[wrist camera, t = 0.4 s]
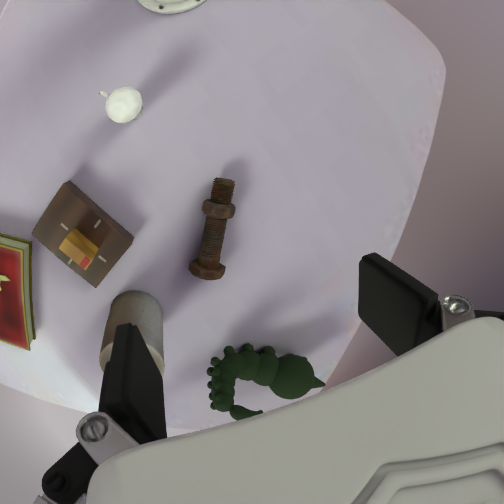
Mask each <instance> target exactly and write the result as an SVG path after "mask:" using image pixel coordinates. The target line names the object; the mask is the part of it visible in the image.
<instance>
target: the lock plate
mask: <svg viewBox="0 0 504 504" xmlns="http://www.w3.org/2000/svg"><path fill="white" fill-rule="evenodd" d="M74 228H76V229H77V230H78V231H79V232H80V233H81V234H83V235H84V236H85V237H86V238H87V239H88V240H90V241H91V242H92V243H93V244H94V245H96V246H97V247H98V248H99V249H98V251H97V253H96V255H95V257H94V259H93V260H92V262H91V263H90V264H89V266H88V267H87V269H86V270H84V269H83V268H82V267H80V266H79V265H78V264H77V263H76V262H74V261H73V260H72V259H71V258H70V257H68V256H67V255H66V254H65V253H64V252H63V251H61V250H60V249H59V247H60V245H61V244H62V242H63V241H64V239H65V238H66V237H67V236H68V235H69V233H70V232H71V231H72V230H73V229H74ZM32 235H33V236H35V237H36V238H37V239H38V240H39V241H40V242H41V243H42V244H43V245H44V246H46V247H47V248H48V249H49V250H50V251H51V252H52V253H54V254H55V255H56V256H57V257H58V258H59V259H61V260H62V261H63V262H64V263H65V264H67V265H68V266H69V267H70V268H71V269H73V270H74V271H75V272H76V273H78V274H79V275H80V276H81V277H83V278H84V279H85V280H86V281H88V282H89V283H90V284H91V285H93V286H94V287H95V288H96V287H97V286H98V285H99V284H100V282H101V281H102V280H103V279H104V277H105V276H106V275H107V273H108V272H109V271H110V270H111V268H112V267H113V266H114V265H115V264H116V262H117V261H118V260H119V259H120V257H121V256H122V255H123V254H124V253H125V251H126V250H127V249H128V248H129V247H130V246H131V244H132V242H133V239H134V237H133V236H132V235H131V234H130V233H129V232H128V231H126V230H125V229H124V228H123V227H122V226H121V225H119V224H118V223H117V222H116V221H115V220H114V219H112V218H111V217H110V216H109V215H108V214H107V213H106V212H104V211H103V210H102V209H101V208H100V207H99V206H98V205H97V204H95V203H94V202H93V201H92V200H91V199H90V198H89V197H88V196H87V195H85V194H84V193H83V192H82V191H81V190H80V189H79V188H78V187H77V186H76V185H75V184H73V183H72V182H71V181H68V182H66V183H64V184H63V185H62V187H61V188H60V190H59V191H58V192H57V194H56V195H55V197H54V198H53V200H52V201H51V203H50V204H49V206H48V208H47V209H46V211H45V212H44V214H43V215H42V217H41V219H40V220H39V222H38V224H37V225H36V227H35V229H34V230H33V232H32Z"/></svg>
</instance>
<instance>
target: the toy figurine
mask: <svg viewBox="0 0 504 504" xmlns="http://www.w3.org/2000/svg"><path fill="white" fill-rule="evenodd" d="M243 350H244V351H242V352H239V353H234V351H235V350H234V349H233V347H232V346H226V347H225V349H224V353H225V355H226V356H225V357H224V358H223V359H222V360H221V361H220V359H219V358H217V357H213V358H212V359H211V364H212V365H213V366H214V368H213V367H210V368H208V369H207V374H208V375H209V376H212V379H211V381H209V382H208V384H207V386H208V388H210V389H212V390H211V393H210V394H209V398H210V400H213V402H212V403H211V406H210V407H211V408H212V409H213V410H215V409H217V410H218V411H221V412H226V411H229V412H230V415H231V416H232V417H233V419H235V420H237V421H238V420H242V419H245V418H249V417H252V416H255V415H258V414H262V413H263V411H262V410H259V411H251V410H249V409H246V408H245V407H243V406H240V405H234V399H233V397H234V394H235V390H234V386H235V379H236V378H240V379H242V380H247V381H249V380H253V381H254V382H255V383H257V384H259V385H262V386H269V387H270V389H271V390H272V391H273V392H274V393H275V394H276V395H277V396H279V397H281V398H284V399H296V398H299V397H302V396H304V395H305V394H306V393H307V392H308V391H309V390H310V389H312V388H318V387H324V386H325V383H324V382H322V381H321V380H319V379H318V378H316V377H315V376H314V371H313V368H312V366H311V364H310V363H309V362H308V361H307V358H306V357H301V356H298V355H294V354H287V355H285V356H282V357H280V358H278V357H277V356H275V355H274V354H275V350H274V348H273V347H271V346H266V347H265V348H264V349H263V351H262V354H259V355H258V354H257V353H256V352H253V345H251V344H249V343H248V344H245V345H244V347H243Z"/></svg>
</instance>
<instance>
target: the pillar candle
mask: <svg viewBox="0 0 504 504" xmlns="http://www.w3.org/2000/svg"><path fill="white" fill-rule="evenodd" d="M125 323H131V324H132V325H137V326H138V328H139V330H140V333H141V335H142V337H143V339H144V341H145V343H146V345H147V347H148V349H149V351H150V353H151V355H152V357H153V359H154V361H155V363H156V365H157V367H158V369H159V371H160V373H161V375H162V376H163V373H164V367H165V365H164V351H163V316H162V310H161V307H160V305H159V304H158V302H157V301H156V300H155V299H154V298H153V297H152V296H151V295H149V294H147V293H144V292H142V291H127V292H124V293H122V294H120V295H118V296H117V297H116V298H115V299H114V300H113V302H112V305H111V310H110V313H109V316H108V320H107V324H106V328H105V333H104V337H103V341H102V346H101V351H100V357H99V358H100V366H101V368H102V370H103V372H104V369H105V364H106V362H107V361H110V357H111V352H112V346H113V341H114V336H115V331H116V327H117V325H121V324H125Z"/></svg>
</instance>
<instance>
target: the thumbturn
mask: <svg viewBox="0 0 504 504" xmlns="http://www.w3.org/2000/svg"><path fill="white" fill-rule="evenodd" d="M59 249H60V250H61V251H63V252H64V253H65V254H66V255H67V256H68V257H70V258H71V259H72V260H73V261H74V262H76V263H77V264H78V265H79V266H80V267H82V268H83V269H84V270H86V269H87V267H88V266H89V264H90V263H91V262H92V260H93V259H94V257H95V255H96V253H97V251H98V249H99V248H98V247H97V246H96V245H94V244H93V243H92V242H91V241H90V240H88V239H87V238H86V237H85V236H84V235H83V234H81V233H80V232H79V231H78V230H77V229H76V228H74V229H73V230H72V231H71V232H70V233H69V235H68V236H67V237H66V238H65V239H64V241H63V242H62V244H61V245H60V247H59Z"/></svg>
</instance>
